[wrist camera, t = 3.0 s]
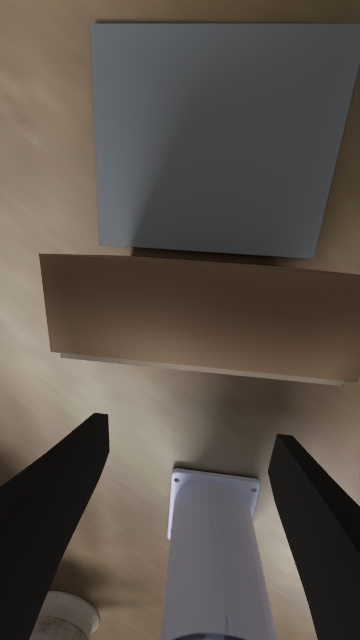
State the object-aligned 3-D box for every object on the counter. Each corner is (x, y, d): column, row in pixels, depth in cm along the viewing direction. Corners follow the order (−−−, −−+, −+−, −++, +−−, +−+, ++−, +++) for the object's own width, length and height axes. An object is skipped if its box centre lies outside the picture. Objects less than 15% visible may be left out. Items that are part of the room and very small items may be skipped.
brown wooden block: (266, 315, 15) (354, 390, 7) (131, 304, 16) (51, 359, 7) (276, 266, 14) (393, 278, 6) (130, 256, 15) (39, 253, 6)
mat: (309, 258, 14) (313, 258, 13) (102, 245, 15) (99, 244, 14) (361, 34, 11) (369, 23, 10) (94, 33, 12) (89, 23, 11)
